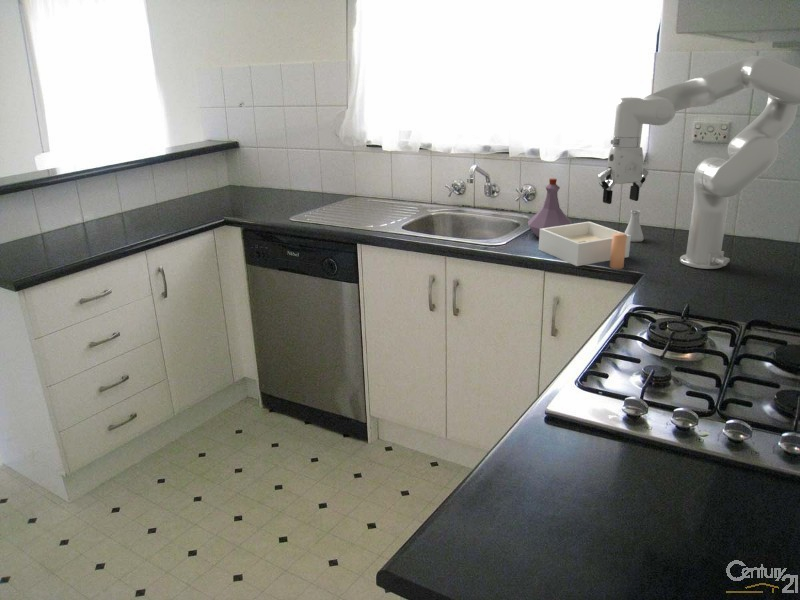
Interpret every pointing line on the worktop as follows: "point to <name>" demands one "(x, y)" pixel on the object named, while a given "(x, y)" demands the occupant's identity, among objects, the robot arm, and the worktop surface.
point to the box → (579, 243)
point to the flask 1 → (549, 211)
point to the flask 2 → (634, 227)
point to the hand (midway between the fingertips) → (620, 201)
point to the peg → (618, 250)
